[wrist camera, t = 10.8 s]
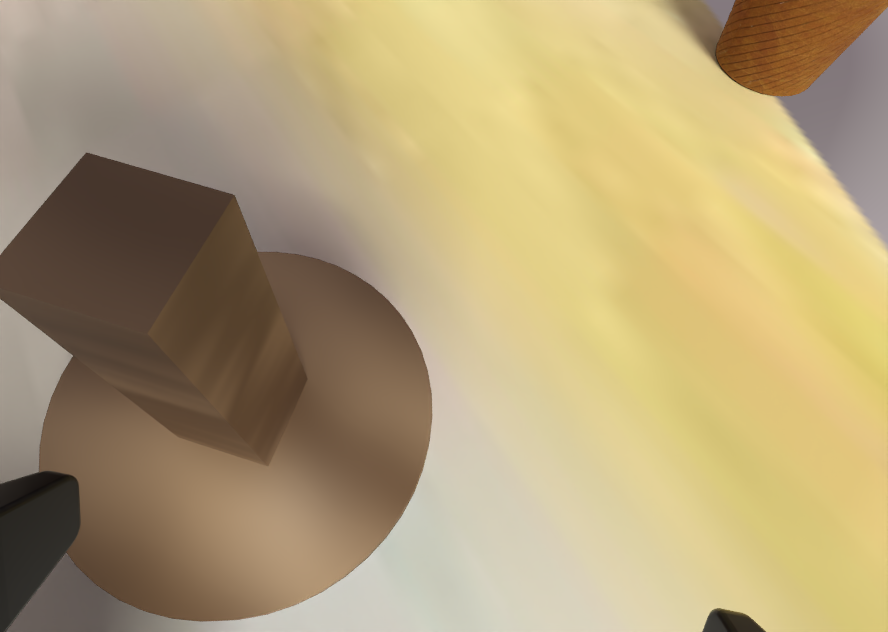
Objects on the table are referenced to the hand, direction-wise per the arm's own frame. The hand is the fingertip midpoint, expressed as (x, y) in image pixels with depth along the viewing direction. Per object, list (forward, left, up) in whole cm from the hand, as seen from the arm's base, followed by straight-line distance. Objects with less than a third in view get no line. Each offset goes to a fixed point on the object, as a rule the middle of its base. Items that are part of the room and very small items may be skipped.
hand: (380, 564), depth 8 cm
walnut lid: (+4, +6, -10) cm, 12 cm away
